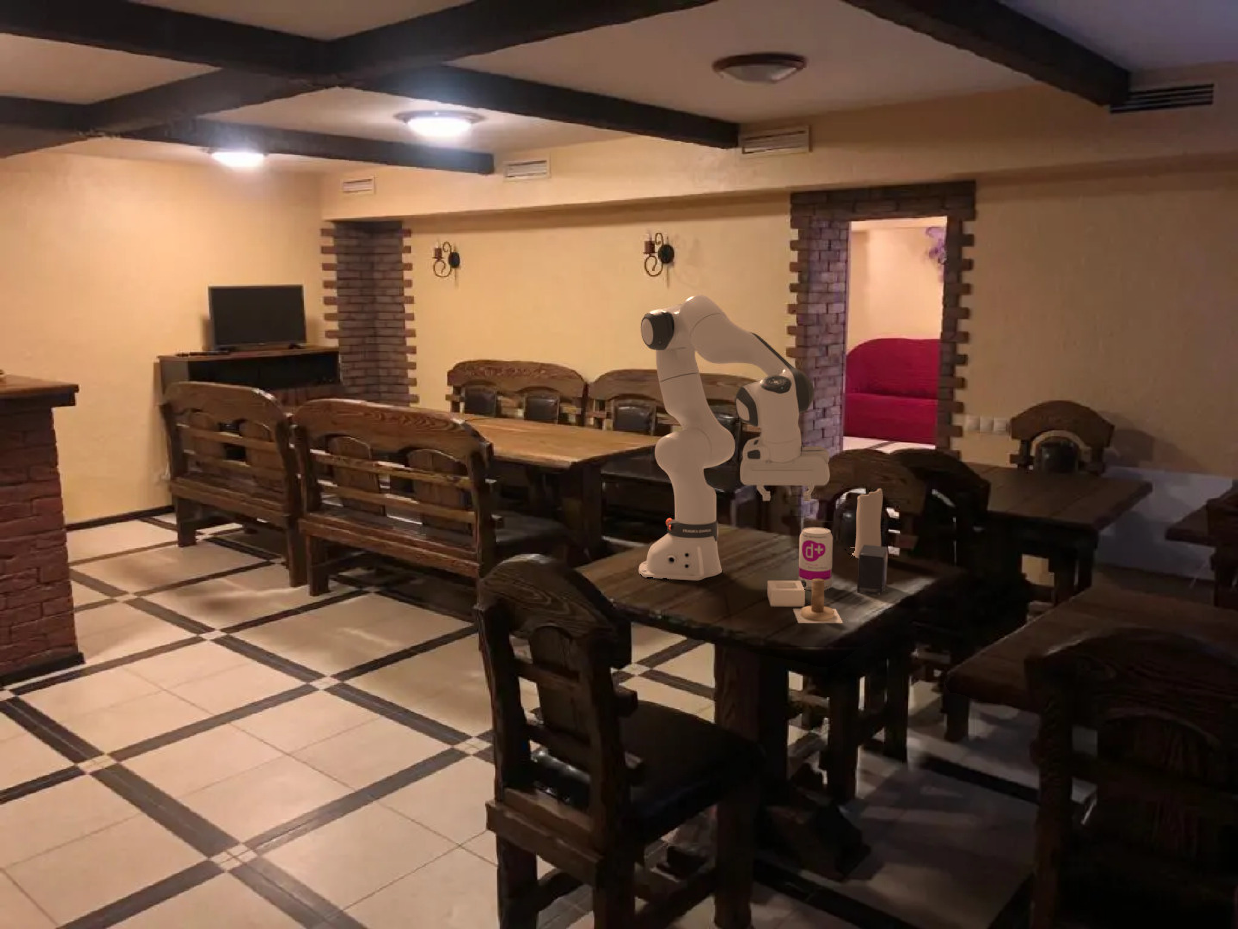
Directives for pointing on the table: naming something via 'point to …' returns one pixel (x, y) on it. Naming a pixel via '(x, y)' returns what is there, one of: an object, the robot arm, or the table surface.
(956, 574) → the table surface
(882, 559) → the small box
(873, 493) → the beige wavy upright slab
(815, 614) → the wooden peg stand
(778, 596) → the dish
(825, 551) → the supplement can
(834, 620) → the mat
